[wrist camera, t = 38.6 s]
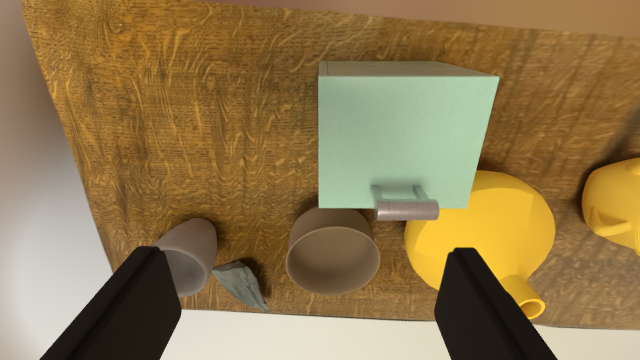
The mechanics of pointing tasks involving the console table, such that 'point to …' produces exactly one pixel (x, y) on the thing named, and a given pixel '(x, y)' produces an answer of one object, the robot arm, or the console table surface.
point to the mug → (190, 254)
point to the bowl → (331, 251)
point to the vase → (489, 235)
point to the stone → (241, 284)
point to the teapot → (614, 203)
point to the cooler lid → (401, 141)
